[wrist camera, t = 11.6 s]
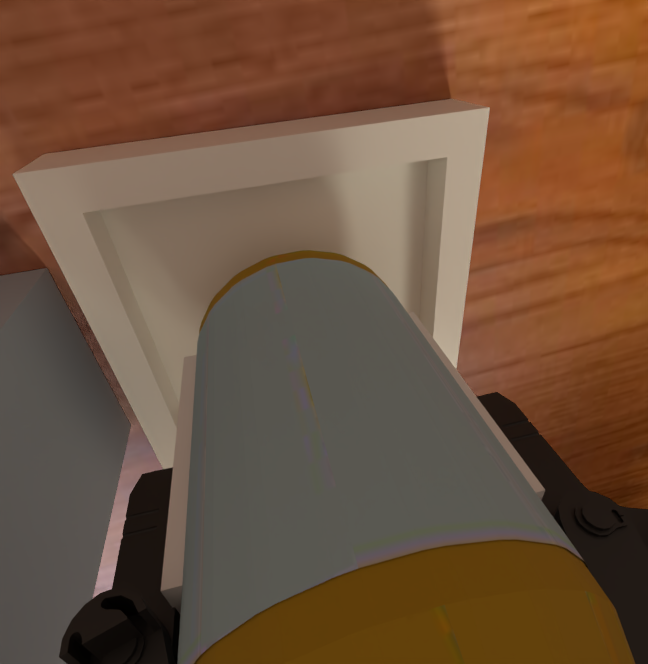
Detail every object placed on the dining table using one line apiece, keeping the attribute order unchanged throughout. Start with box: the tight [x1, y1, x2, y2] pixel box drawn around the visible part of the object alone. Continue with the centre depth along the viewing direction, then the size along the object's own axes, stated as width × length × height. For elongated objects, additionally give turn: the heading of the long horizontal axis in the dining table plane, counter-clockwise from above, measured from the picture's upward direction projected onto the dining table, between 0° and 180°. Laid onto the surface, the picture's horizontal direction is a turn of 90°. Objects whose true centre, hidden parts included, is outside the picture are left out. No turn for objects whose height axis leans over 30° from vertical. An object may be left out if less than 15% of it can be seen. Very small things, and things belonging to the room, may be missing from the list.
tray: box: [12, 99, 490, 469], centre depth 16 cm, size 13×13×2 cm
